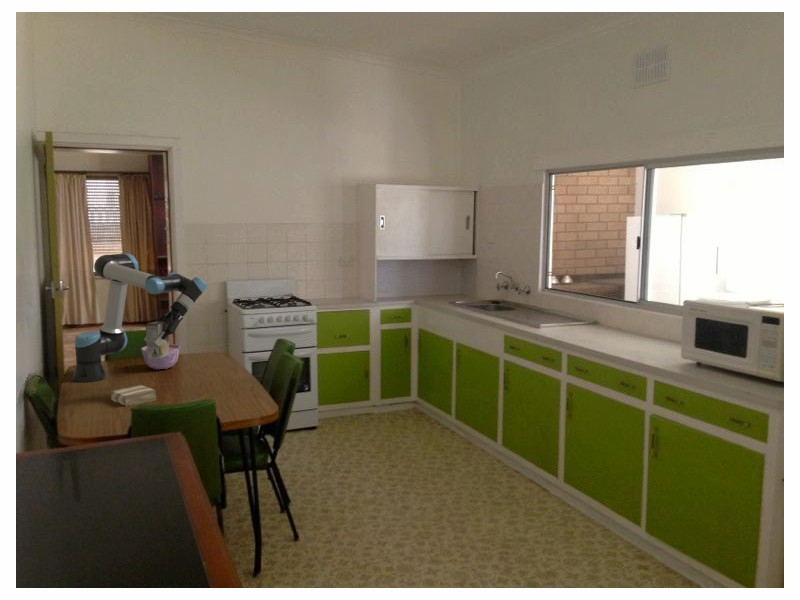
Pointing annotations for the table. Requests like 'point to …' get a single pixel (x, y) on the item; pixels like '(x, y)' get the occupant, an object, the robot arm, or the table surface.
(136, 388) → the birch block
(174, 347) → the bowl of food
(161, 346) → the coffee box
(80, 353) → the robot arm
